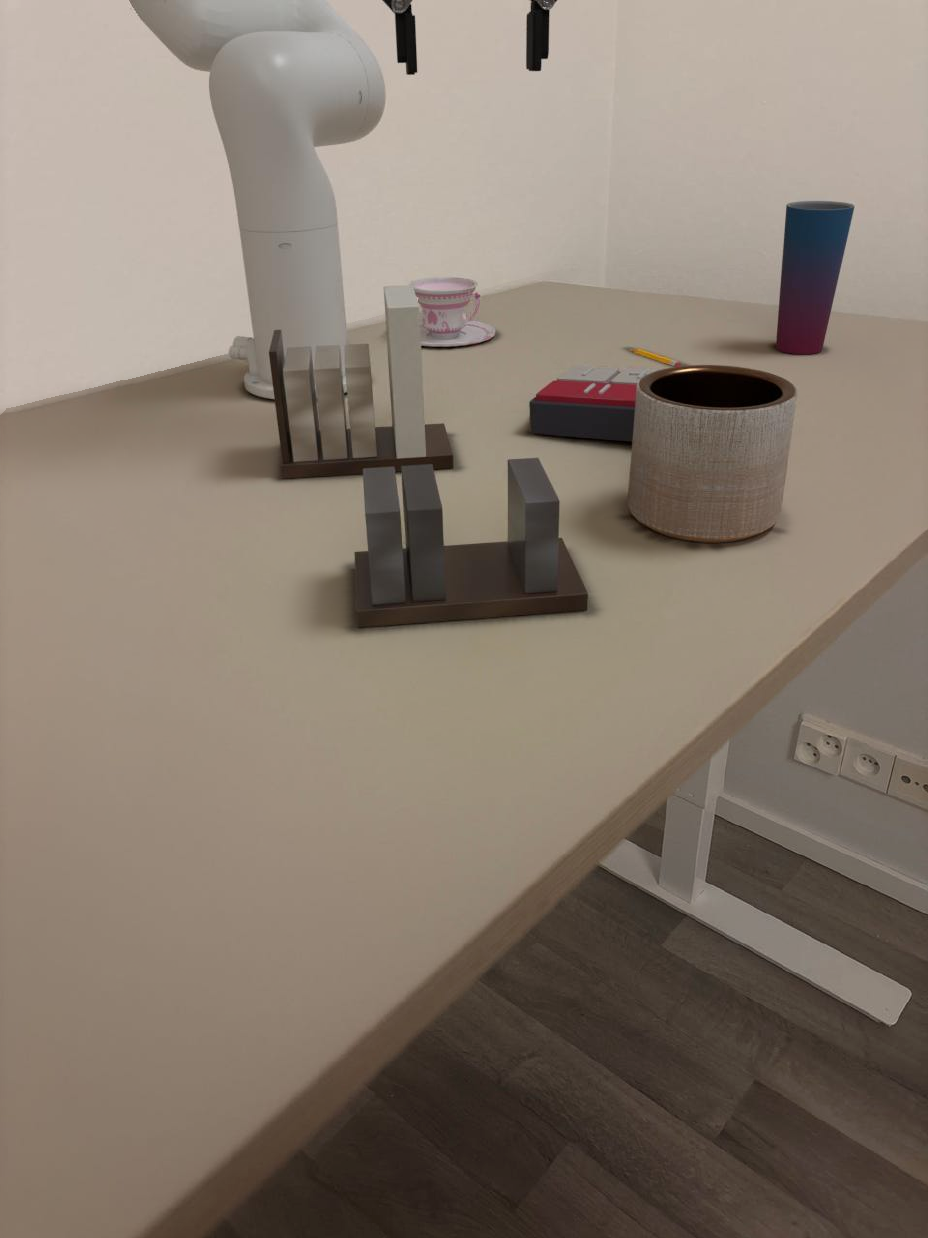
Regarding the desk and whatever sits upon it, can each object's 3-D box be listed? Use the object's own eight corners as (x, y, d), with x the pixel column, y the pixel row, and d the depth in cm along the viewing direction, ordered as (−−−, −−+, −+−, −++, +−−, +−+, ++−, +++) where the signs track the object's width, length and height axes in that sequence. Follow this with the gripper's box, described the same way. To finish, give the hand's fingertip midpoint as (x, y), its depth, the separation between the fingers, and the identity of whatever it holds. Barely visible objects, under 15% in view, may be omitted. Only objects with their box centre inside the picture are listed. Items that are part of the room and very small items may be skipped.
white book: (396, 458, 79) (387, 307, 73) (392, 426, 86) (383, 285, 80) (426, 456, 79) (419, 305, 73) (419, 425, 86) (412, 284, 80)
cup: (837, 344, 110) (861, 202, 102) (821, 359, 105) (845, 210, 97) (777, 338, 113) (796, 199, 106) (759, 351, 108) (778, 207, 101)
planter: (596, 511, 72) (602, 383, 67) (694, 475, 77) (706, 355, 72) (710, 562, 64) (727, 422, 59) (810, 517, 70) (833, 387, 65)
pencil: (675, 369, 104) (676, 363, 104) (625, 352, 110) (625, 346, 110) (681, 368, 104) (682, 362, 104) (630, 351, 111) (631, 345, 110)
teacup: (377, 341, 116) (373, 288, 113) (432, 320, 125) (430, 270, 122) (462, 353, 110) (460, 297, 107) (513, 330, 119) (513, 278, 116)
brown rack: (282, 478, 79) (266, 353, 74) (287, 445, 86) (273, 328, 80) (453, 468, 80) (449, 344, 75) (444, 435, 87) (440, 320, 82)
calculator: (569, 360, 93) (726, 368, 87) (570, 404, 95) (724, 414, 89) (527, 393, 85) (698, 403, 79) (528, 440, 87) (695, 454, 81)
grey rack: (357, 628, 58) (347, 517, 54) (355, 567, 65) (346, 466, 61) (587, 610, 59) (592, 501, 55) (561, 552, 66) (564, 452, 62)
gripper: (579, -200, 71) (572, 68, 80) (343, -198, 70) (361, 74, 78) (603, -225, 65) (591, 69, 73) (343, -224, 63) (363, 76, 72)
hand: (472, 72), depth 76 cm, fingers open, 9 cm apart
